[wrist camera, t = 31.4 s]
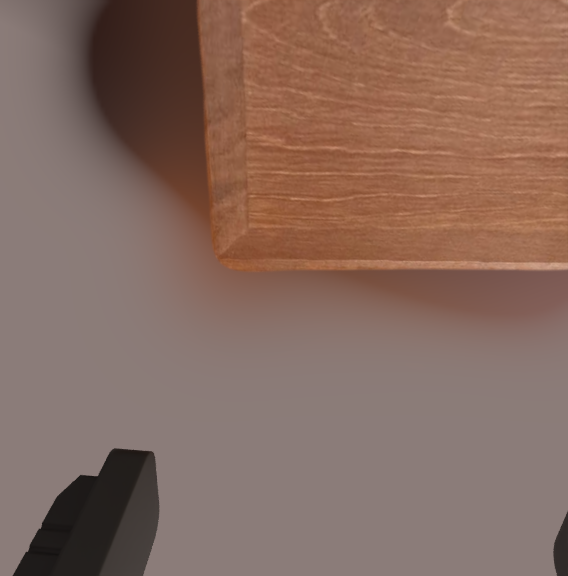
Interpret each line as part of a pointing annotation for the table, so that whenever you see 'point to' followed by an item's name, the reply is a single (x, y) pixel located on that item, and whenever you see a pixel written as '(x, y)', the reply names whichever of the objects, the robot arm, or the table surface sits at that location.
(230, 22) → the table surface
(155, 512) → the robot arm
